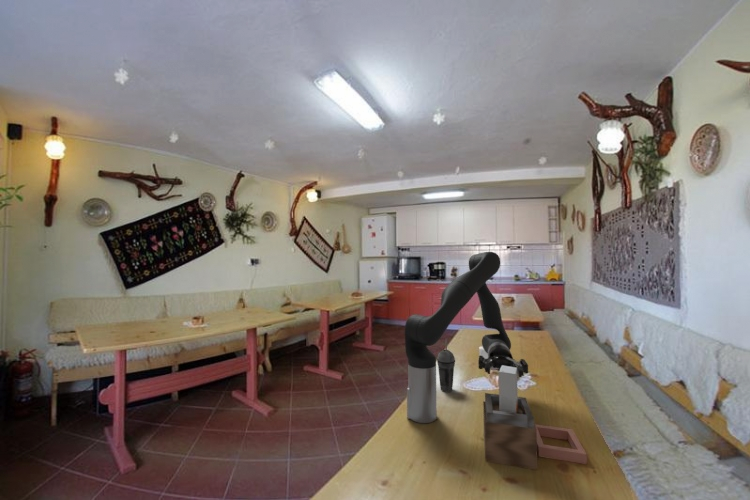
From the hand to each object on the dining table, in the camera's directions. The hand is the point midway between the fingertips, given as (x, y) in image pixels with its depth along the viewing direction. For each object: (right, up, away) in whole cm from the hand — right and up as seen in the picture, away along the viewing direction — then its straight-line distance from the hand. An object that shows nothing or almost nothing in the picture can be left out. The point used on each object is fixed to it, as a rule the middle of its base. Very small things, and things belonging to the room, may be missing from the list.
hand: (504, 372), depth 91 cm
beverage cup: (-9, -20, +33) cm, 40 cm away
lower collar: (+12, -19, -5) cm, 23 cm away
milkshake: (+16, -21, +61) cm, 66 cm away
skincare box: (-1, -9, -6) cm, 11 cm away
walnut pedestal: (-2, -19, -7) cm, 20 cm away
